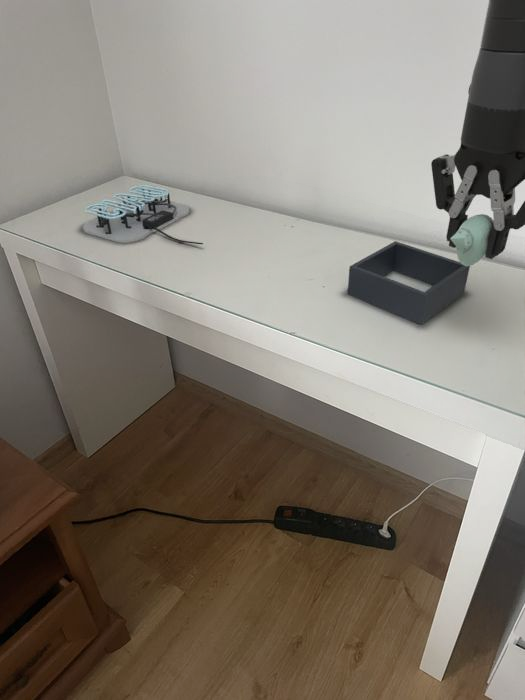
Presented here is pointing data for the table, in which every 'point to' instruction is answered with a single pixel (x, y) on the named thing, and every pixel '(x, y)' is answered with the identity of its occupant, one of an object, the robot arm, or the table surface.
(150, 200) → the neon sign
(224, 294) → the table surface
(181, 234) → the table surface
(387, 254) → the bin
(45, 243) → the table surface
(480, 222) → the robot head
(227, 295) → the table surface
